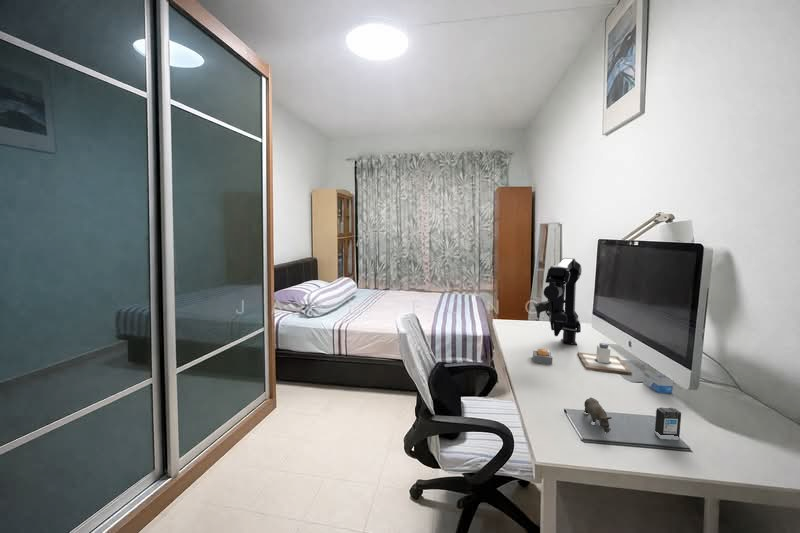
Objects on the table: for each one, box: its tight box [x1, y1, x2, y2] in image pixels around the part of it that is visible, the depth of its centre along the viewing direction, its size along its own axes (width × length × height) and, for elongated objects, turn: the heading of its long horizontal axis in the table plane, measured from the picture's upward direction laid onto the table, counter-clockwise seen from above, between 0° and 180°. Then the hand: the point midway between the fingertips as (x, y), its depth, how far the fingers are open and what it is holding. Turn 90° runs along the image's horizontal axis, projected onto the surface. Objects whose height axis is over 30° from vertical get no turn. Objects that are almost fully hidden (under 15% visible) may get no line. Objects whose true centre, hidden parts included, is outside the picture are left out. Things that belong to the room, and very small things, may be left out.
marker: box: [595, 342, 611, 363], centre depth 145 cm, size 4×4×7 cm
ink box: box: [642, 362, 674, 394], centre depth 123 cm, size 9×5×12 cm, turn 179°
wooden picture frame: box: [577, 351, 633, 375], centre depth 146 cm, size 18×16×1 cm
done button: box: [537, 348, 549, 356], centre depth 148 cm, size 4×4×3 cm
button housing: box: [532, 350, 553, 366], centre depth 148 cm, size 7×7×3 cm
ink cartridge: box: [654, 407, 682, 438], centre depth 93 cm, size 5×2×8 cm, turn 87°
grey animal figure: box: [583, 396, 612, 434], centre depth 99 cm, size 4×14×6 cm, turn 173°
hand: (554, 333), depth 146 cm, fingers open, 9 cm apart
